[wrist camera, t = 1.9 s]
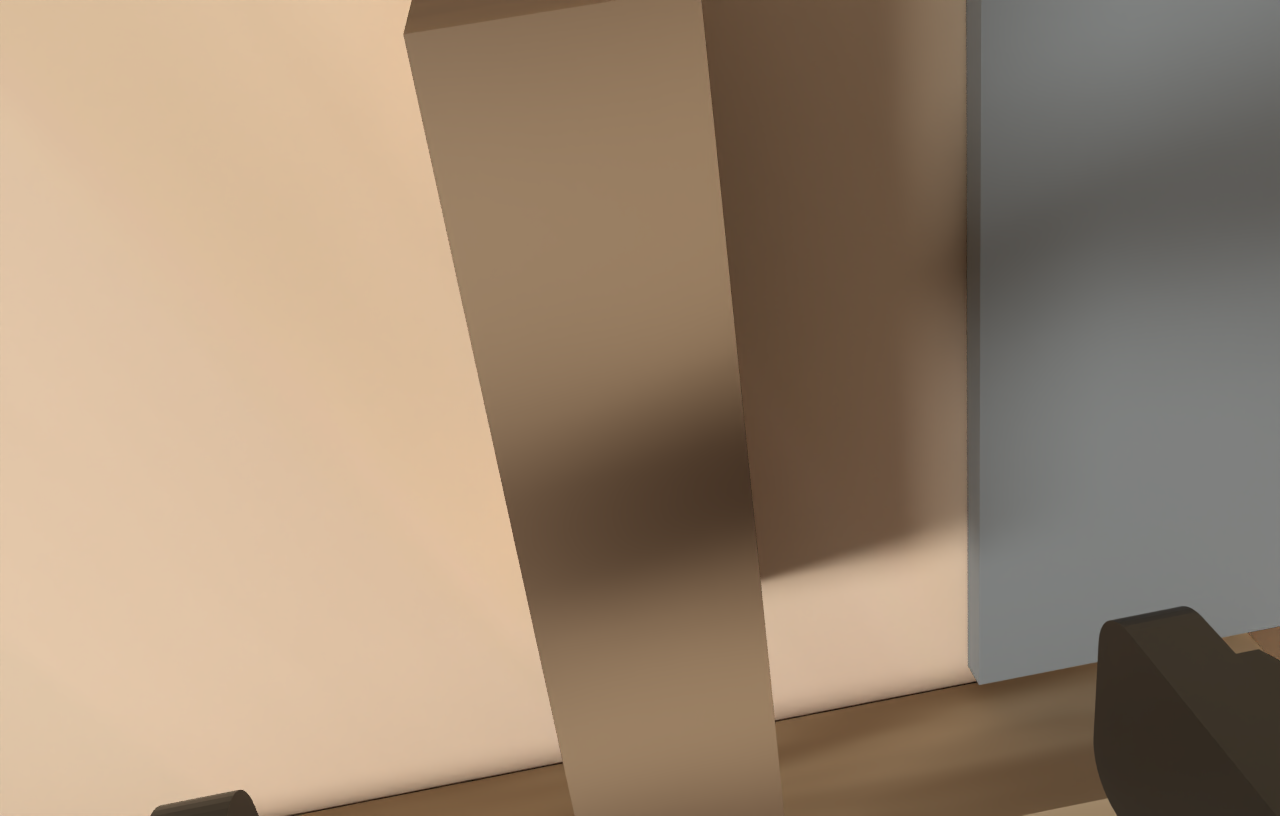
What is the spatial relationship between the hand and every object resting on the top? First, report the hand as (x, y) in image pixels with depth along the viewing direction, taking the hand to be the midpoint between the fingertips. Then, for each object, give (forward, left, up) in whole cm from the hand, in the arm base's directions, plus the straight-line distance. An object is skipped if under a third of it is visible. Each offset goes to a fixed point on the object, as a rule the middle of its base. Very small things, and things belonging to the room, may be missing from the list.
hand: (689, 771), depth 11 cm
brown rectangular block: (0, 0, -10) cm, 10 cm away
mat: (+2, +10, -10) cm, 14 cm away
